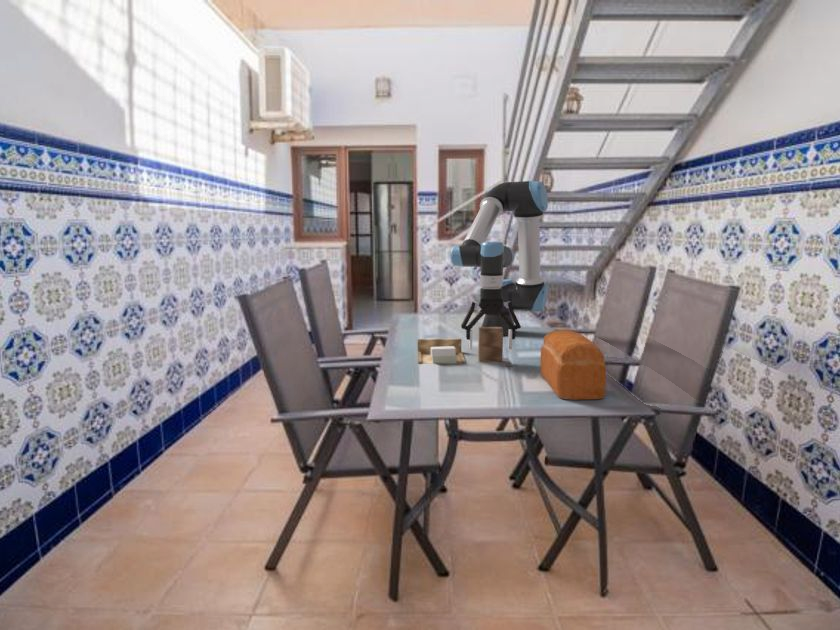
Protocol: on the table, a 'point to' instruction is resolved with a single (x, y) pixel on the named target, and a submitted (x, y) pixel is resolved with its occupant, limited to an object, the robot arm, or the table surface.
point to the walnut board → (490, 344)
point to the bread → (573, 366)
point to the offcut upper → (443, 351)
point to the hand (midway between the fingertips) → (490, 348)
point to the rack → (426, 345)
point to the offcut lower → (444, 359)
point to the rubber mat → (506, 362)
